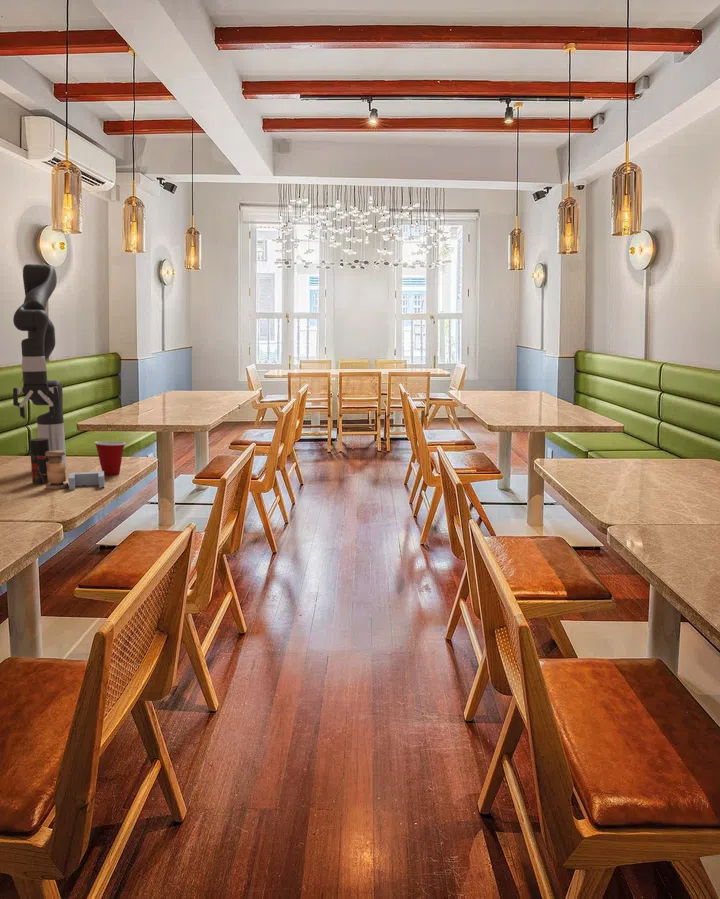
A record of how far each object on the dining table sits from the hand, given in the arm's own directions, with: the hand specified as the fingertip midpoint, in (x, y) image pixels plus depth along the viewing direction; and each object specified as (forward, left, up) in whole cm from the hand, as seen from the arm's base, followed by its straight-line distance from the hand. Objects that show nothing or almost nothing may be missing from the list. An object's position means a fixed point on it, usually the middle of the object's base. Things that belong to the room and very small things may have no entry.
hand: (37, 417), depth 254 cm
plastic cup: (-9, +23, -23) cm, 33 cm away
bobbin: (+10, +6, -22) cm, 25 cm away
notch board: (+11, +15, -22) cm, 29 cm away
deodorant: (0, 0, -23) cm, 23 cm away
